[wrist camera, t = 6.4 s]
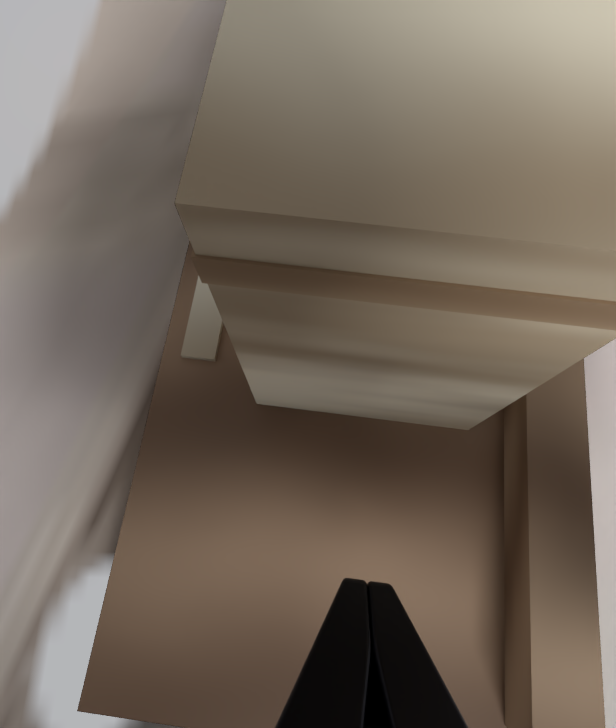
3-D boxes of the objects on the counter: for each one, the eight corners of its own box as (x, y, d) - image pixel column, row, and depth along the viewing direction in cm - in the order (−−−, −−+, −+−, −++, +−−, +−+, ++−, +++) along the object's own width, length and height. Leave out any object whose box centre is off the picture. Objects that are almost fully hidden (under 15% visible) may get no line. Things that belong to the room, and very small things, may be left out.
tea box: (469, 432, 14) (740, 268, 5) (254, 405, 14) (168, 206, 5) (477, 80, 18) (632, -333, 9) (311, 64, 18) (314, -352, 10)
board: (552, 752, 13) (703, 889, 8) (110, 685, 13) (-7, 776, 8) (531, 39, 21) (599, -109, 16) (259, 14, 22) (245, -137, 17)
